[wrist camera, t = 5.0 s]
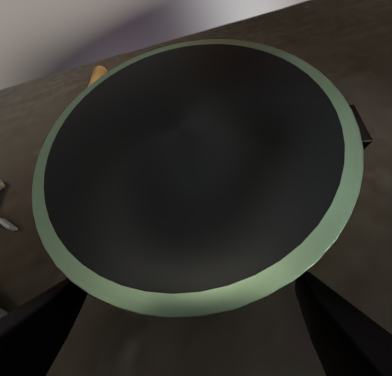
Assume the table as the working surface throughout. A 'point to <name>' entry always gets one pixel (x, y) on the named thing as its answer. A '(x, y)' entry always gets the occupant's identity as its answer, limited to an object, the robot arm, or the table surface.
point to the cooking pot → (198, 178)
